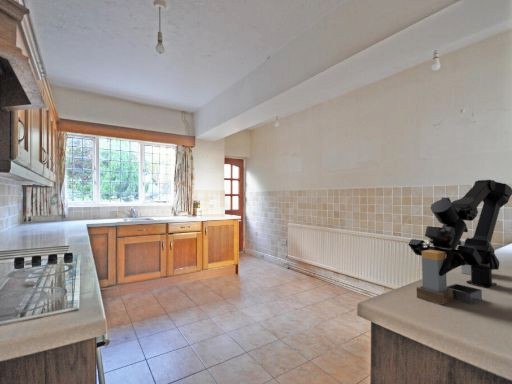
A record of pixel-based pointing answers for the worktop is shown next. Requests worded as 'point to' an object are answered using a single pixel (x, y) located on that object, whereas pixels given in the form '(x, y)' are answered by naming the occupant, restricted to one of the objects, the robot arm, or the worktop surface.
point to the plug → (433, 271)
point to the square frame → (435, 296)
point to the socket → (465, 293)
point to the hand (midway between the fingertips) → (431, 273)
